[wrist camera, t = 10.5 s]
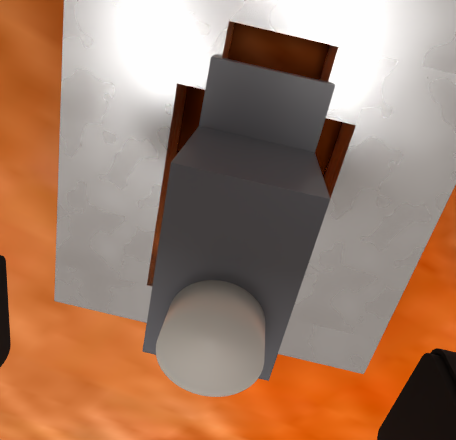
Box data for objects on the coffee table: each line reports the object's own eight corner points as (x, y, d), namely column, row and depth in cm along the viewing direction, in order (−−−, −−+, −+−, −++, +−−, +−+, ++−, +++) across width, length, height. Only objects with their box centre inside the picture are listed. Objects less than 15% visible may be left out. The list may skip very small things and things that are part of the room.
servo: (221, 51, 18) (170, 74, 9) (325, 75, 17) (375, 121, 9) (179, 282, 23) (121, 439, 14) (259, 301, 23) (250, 469, 14)
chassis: (113, -366, 13) (77, -452, 10) (619, -249, 13) (693, -308, 10) (76, 274, 23) (54, 300, 21) (354, 340, 23) (363, 374, 21)
